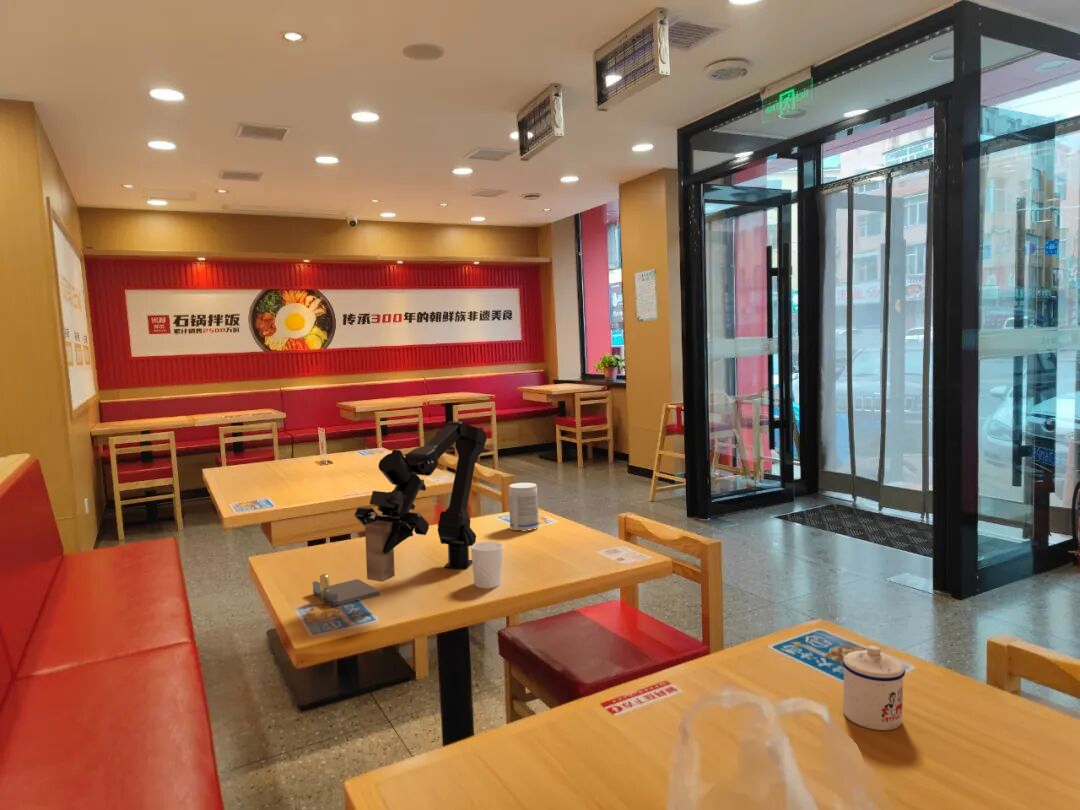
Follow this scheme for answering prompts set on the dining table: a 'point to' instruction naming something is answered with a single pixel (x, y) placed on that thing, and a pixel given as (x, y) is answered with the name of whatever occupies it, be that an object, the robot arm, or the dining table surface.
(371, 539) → the walnut post
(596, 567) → the dining table surface
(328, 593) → the keeper plate
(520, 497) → the supplement tub
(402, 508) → the robot arm
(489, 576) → the white cup
